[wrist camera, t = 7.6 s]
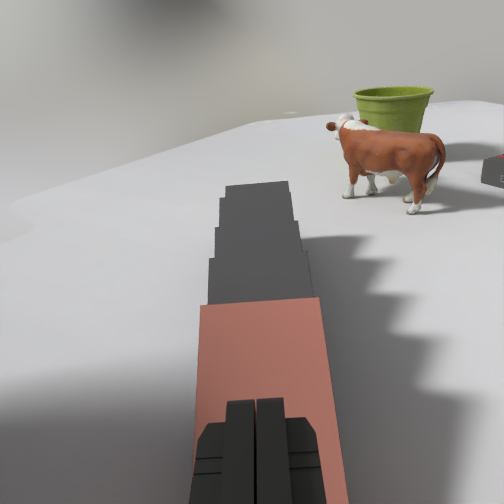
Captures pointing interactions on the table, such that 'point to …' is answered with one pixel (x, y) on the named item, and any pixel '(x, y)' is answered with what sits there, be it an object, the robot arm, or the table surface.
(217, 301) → the domino
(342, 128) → the bull figurine
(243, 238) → the domino
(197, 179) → the table surface
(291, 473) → the robot arm
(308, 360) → the domino
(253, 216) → the domino
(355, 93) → the plant pot
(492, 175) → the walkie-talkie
